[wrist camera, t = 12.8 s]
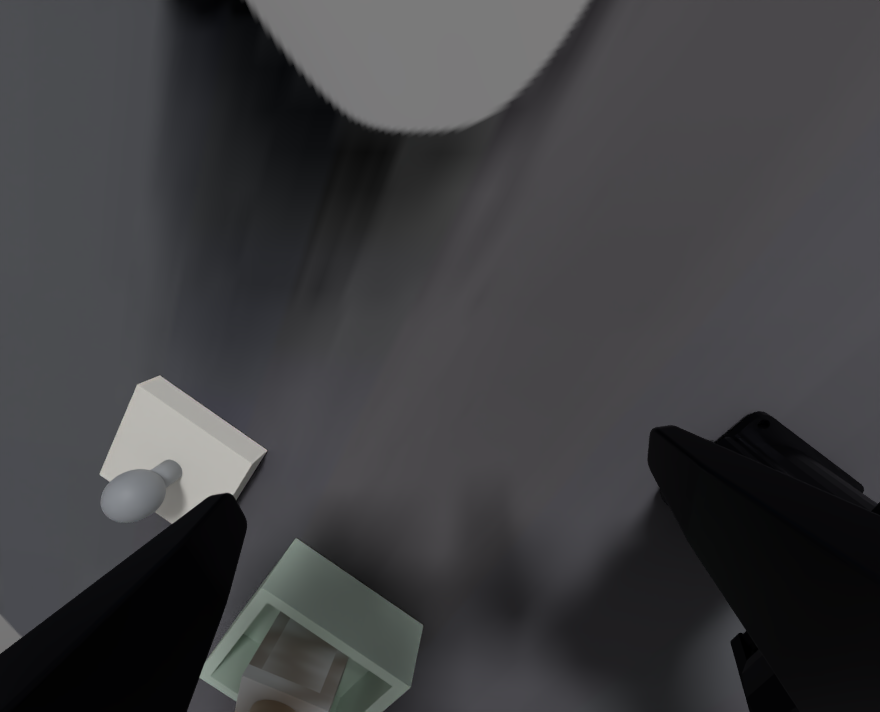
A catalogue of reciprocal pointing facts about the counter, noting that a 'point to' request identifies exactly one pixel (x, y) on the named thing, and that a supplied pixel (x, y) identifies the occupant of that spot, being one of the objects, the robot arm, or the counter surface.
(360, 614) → the tray
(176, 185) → the counter surface
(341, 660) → the stamp
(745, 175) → the counter surface
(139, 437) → the stud plate
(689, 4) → the counter surface
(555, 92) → the counter surface
